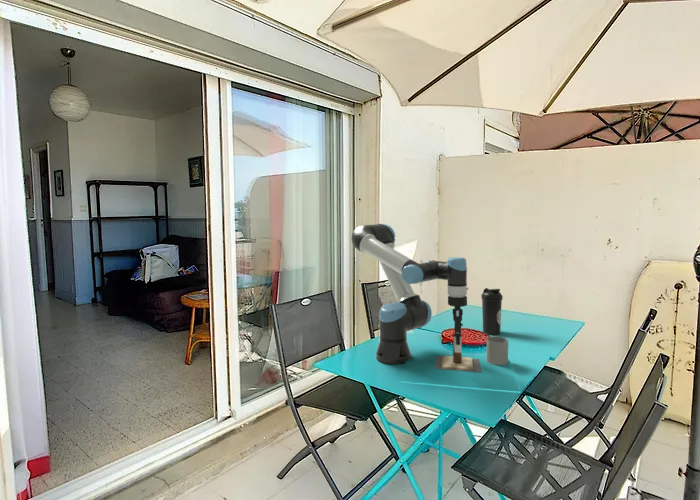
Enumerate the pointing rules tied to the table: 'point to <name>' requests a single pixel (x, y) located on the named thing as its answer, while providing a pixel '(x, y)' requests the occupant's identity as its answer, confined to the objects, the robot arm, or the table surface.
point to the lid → (457, 361)
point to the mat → (475, 369)
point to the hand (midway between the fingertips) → (458, 346)
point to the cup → (497, 350)
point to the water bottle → (491, 311)
